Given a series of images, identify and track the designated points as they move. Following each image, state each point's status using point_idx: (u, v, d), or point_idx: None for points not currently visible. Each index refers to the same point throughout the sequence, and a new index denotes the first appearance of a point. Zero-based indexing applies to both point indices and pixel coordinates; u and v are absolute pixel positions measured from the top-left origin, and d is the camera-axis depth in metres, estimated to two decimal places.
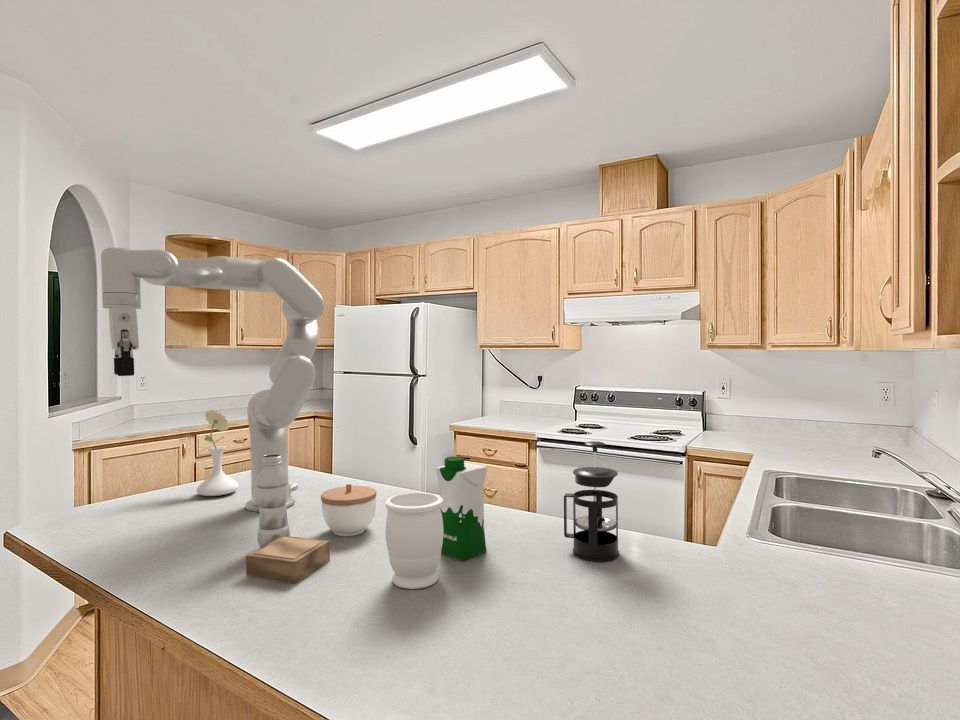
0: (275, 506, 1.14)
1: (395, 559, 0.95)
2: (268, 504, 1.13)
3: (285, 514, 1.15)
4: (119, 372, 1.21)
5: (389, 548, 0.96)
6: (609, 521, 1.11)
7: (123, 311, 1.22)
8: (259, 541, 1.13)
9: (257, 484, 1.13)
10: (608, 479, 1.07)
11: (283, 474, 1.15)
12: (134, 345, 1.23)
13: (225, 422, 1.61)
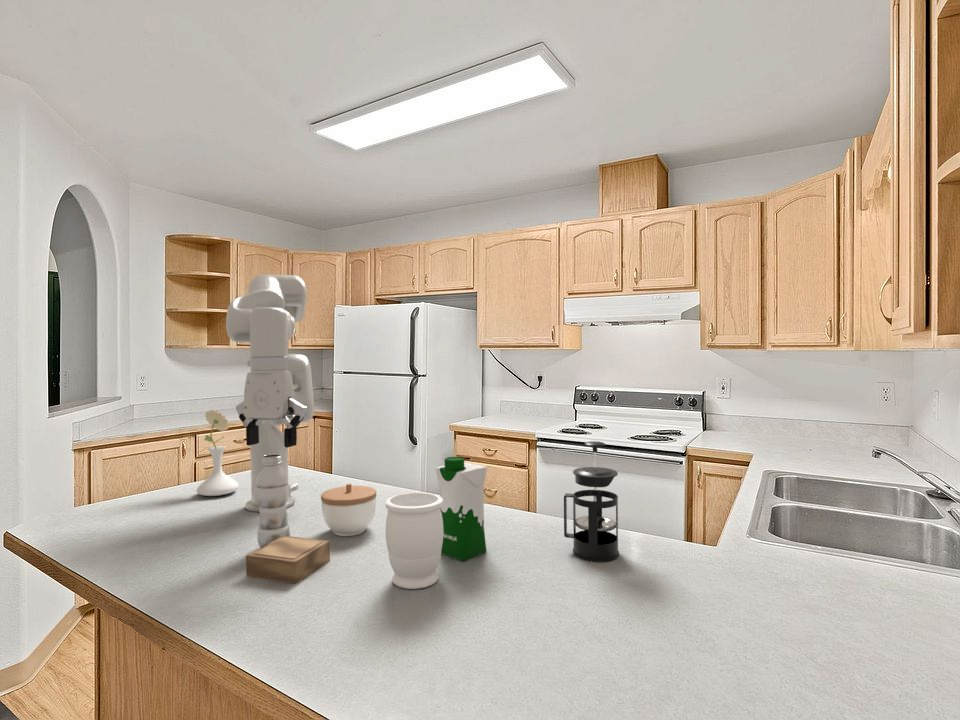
0: (275, 506, 1.14)
1: (395, 559, 0.95)
2: (268, 504, 1.13)
3: (285, 514, 1.15)
4: None
5: (389, 548, 0.96)
6: (609, 521, 1.11)
7: None
8: (259, 541, 1.13)
9: (257, 484, 1.13)
10: (608, 479, 1.07)
11: (283, 474, 1.15)
12: None
13: (225, 422, 1.61)
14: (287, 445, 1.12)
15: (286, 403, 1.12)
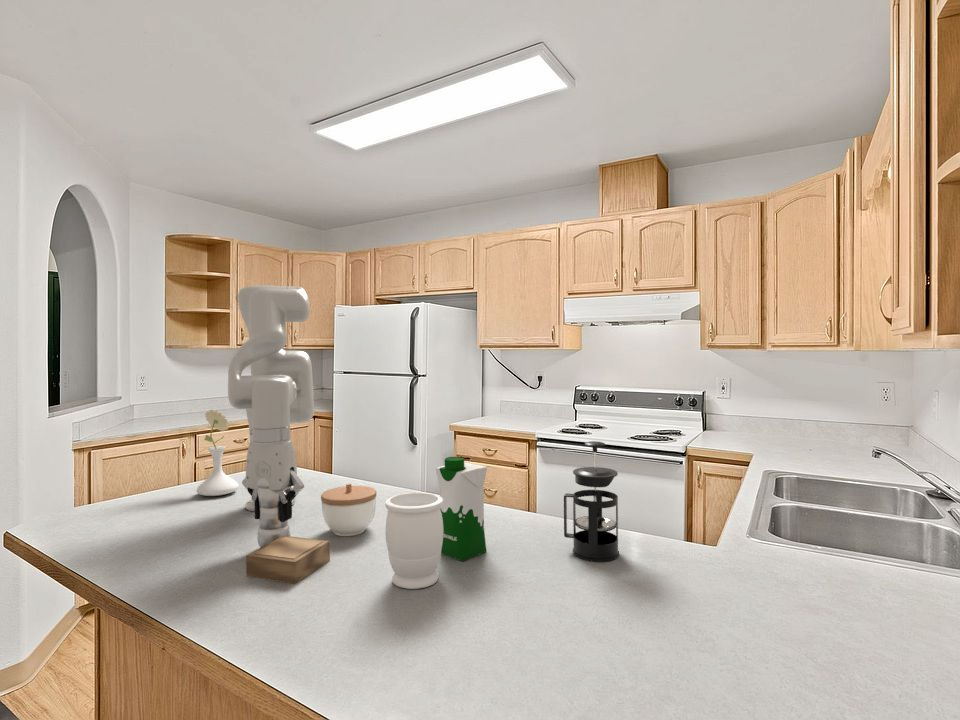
0: (275, 506, 1.13)
1: (395, 559, 0.95)
2: (269, 504, 1.13)
3: None
4: None
5: (389, 548, 0.96)
6: (609, 521, 1.11)
7: None
8: (259, 541, 1.13)
9: (257, 484, 1.13)
10: (608, 479, 1.07)
11: None
12: None
13: (225, 422, 1.61)
14: (282, 520, 1.13)
15: (288, 474, 1.13)
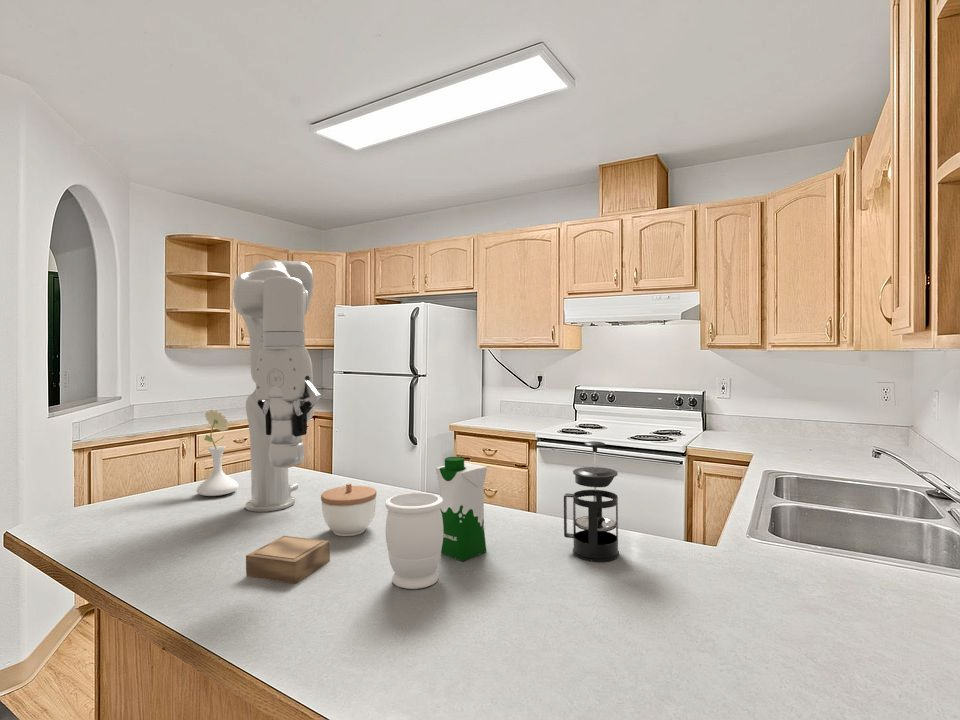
0: (289, 419, 1.02)
1: (395, 559, 0.95)
2: (281, 416, 1.02)
3: None
4: None
5: (389, 548, 0.96)
6: (609, 521, 1.11)
7: None
8: (271, 457, 1.02)
9: (269, 394, 1.02)
10: (608, 479, 1.07)
11: None
12: None
13: (225, 422, 1.61)
14: (297, 434, 1.02)
15: (303, 383, 1.01)
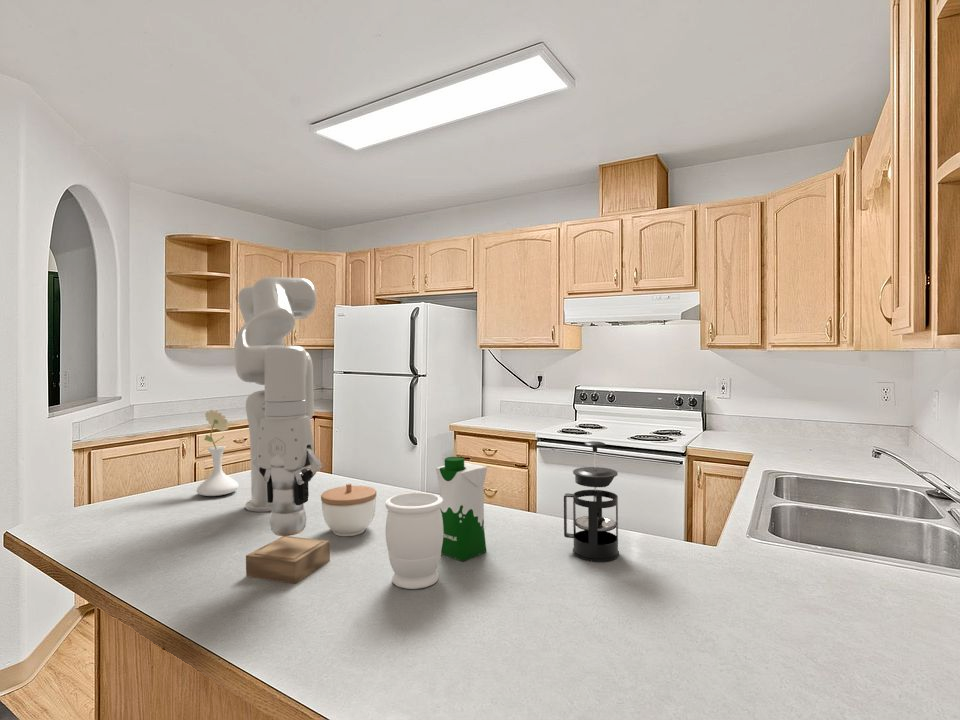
0: (290, 488, 1.03)
1: (395, 559, 0.95)
2: (283, 485, 1.02)
3: None
4: None
5: (389, 548, 0.96)
6: (609, 521, 1.11)
7: None
8: (272, 526, 1.03)
9: (270, 463, 1.02)
10: (608, 479, 1.07)
11: None
12: None
13: (225, 422, 1.61)
14: (298, 503, 1.03)
15: (305, 452, 1.02)
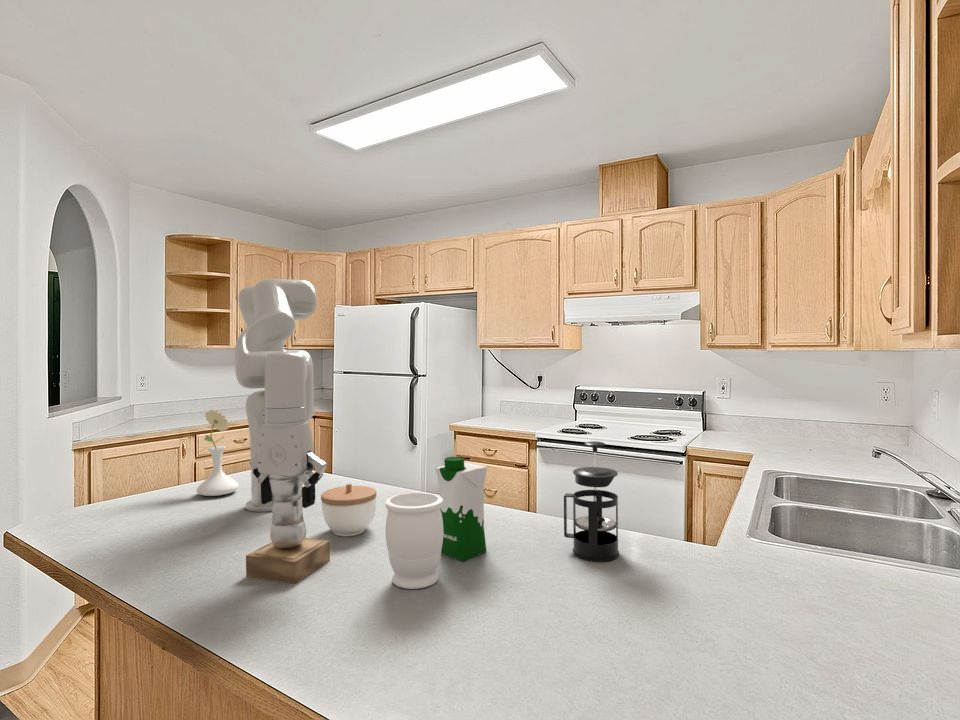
0: (290, 500, 1.03)
1: (395, 559, 0.95)
2: (283, 498, 1.03)
3: (300, 509, 1.05)
4: None
5: (389, 548, 0.96)
6: (609, 521, 1.11)
7: None
8: (272, 538, 1.03)
9: (270, 476, 1.03)
10: (608, 479, 1.07)
11: None
12: None
13: (225, 422, 1.61)
14: (305, 505, 1.02)
15: (305, 459, 1.02)
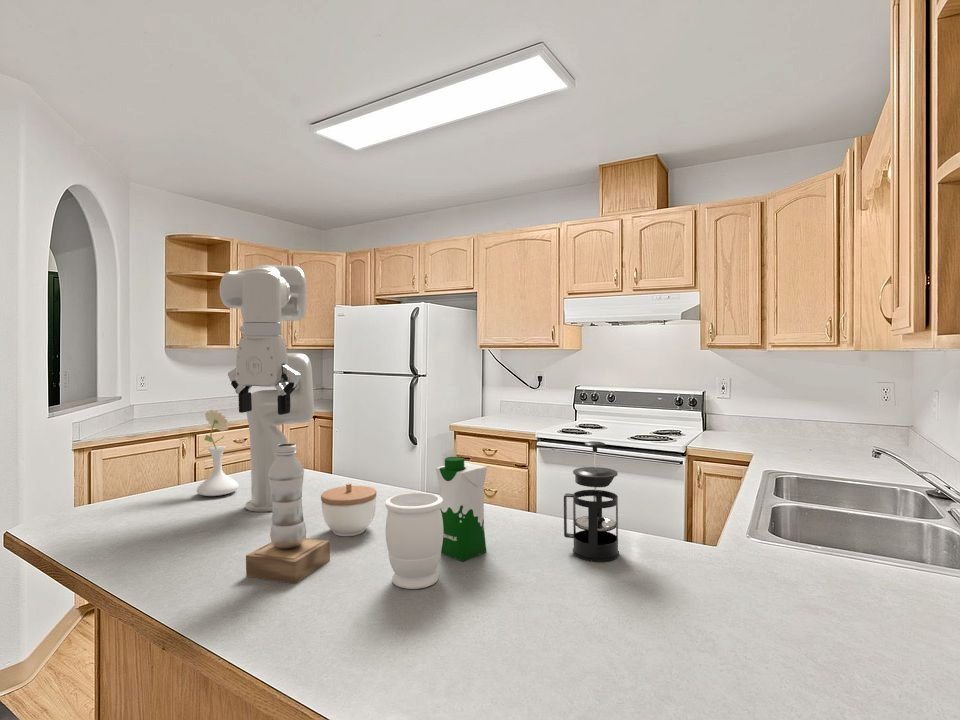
0: (290, 500, 1.03)
1: (395, 559, 0.95)
2: (283, 498, 1.03)
3: (301, 509, 1.05)
4: None
5: (389, 548, 0.96)
6: (609, 521, 1.11)
7: None
8: (272, 539, 1.03)
9: (270, 476, 1.03)
10: (608, 479, 1.07)
11: (298, 465, 1.04)
12: None
13: (225, 422, 1.61)
14: (281, 412, 1.11)
15: (280, 370, 1.10)
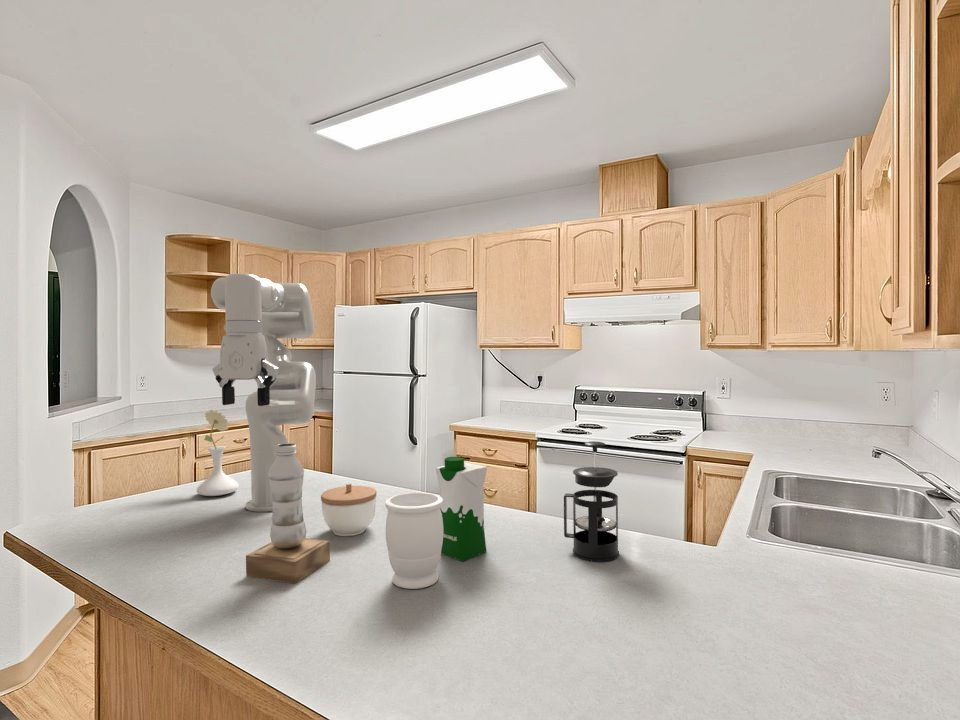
0: (290, 500, 1.03)
1: (395, 559, 0.95)
2: (283, 498, 1.03)
3: (301, 509, 1.05)
4: None
5: (389, 548, 0.96)
6: (609, 521, 1.11)
7: None
8: (272, 539, 1.03)
9: (270, 476, 1.03)
10: (608, 479, 1.07)
11: (298, 465, 1.04)
12: None
13: (225, 422, 1.61)
14: (260, 404, 1.19)
15: (259, 364, 1.19)
